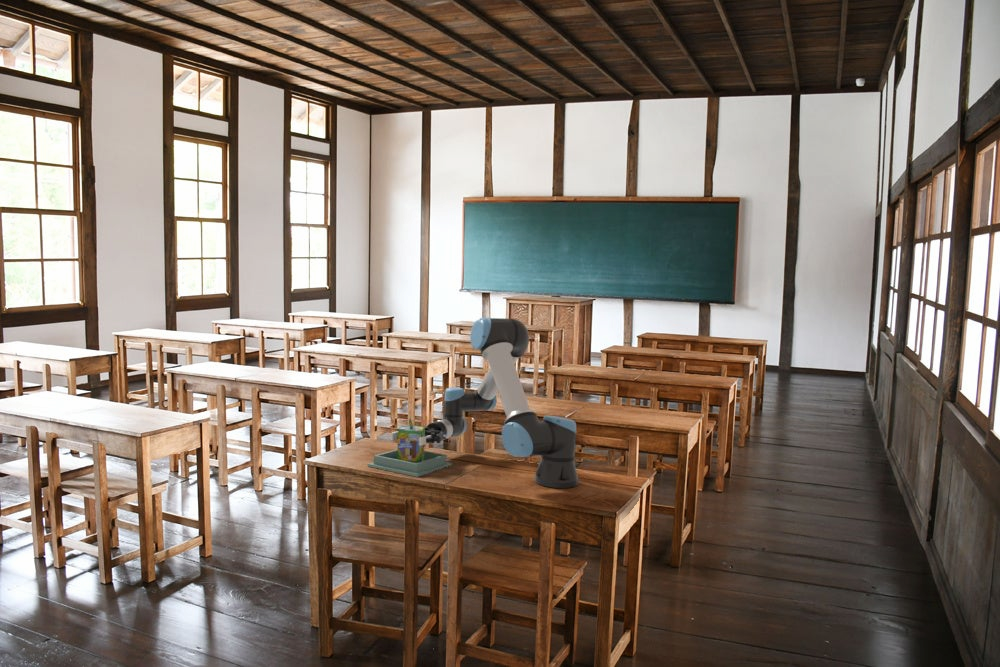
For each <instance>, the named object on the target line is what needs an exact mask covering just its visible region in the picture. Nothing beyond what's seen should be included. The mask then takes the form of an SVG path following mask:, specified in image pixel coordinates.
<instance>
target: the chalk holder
mask: <svg viewBox="0 0 1000 667" xmlns="http://www.w3.org/2000/svg"><path fill="white" fill-rule="evenodd" d="M397 451H398V448H397V449H394V450H390V451H389V450H388V451H387V452H383V453H382V452H381V453H378V454H375V455H373V462H369V463H367V466H369V467H368V468H372V467H373V468H372V469H377V468H378V469H377V470H381V469H382V471H386V470H387V471H388V472H391V473H396V474H397V473H398V474H401V475H405V476H411V477H416V478H419V477H421V476H425V475H427V474H431V473H434V472H436V471H435V470H437V471H439V470H438V469H440V470H442V469H441V468H443V469H445V468H444V467H446V468H448V466H449V467H451V465H452V466H453V463H452V462H450V461H449V462H448V461H447V460H448V459H447V457H448V455H447V454H445V453H444V454H443V453H438V452H431V451H428V450H427V451H426V450H424V458H423V460H422V462H410V461H402V460H397ZM387 471H386V472H387ZM433 471H434V472H433Z"/></svg>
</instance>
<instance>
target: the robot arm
mask: <svg viewBox="0 0 1000 667" xmlns="http://www.w3.org/2000/svg"><path fill="white" fill-rule="evenodd" d="M469 337H470V344H471V347H472V348H473V349H474V350H476V351H479V352H480V354H481V357H482V358H483V359H484V360H486V361H488V365H489V369H488V371H487V372H486V374H485V376H484V377H483V379H482V381H481V382H480V385H479V386H478V388H477V390H476V391H474V392H473V391H472V392H471V391H469V392H465V389H464V388H462V387H453V386H452V387H447V388H446V389H445V393H444V401H443V402H444V405H443V406H444V407H443V409H444V410H443V419H439V420H436V421H433V422H428V424H427V426H424V427H425V437H421V438H419V445H420V446H421V445H424V446H425V445H428V444H431V443H432V444H434V443H435V442H436V443H437V444H441V443H442V441H444V440H447V439H449V438H453V437H458V436H460V435H463V434H464V433H465V432H466V431H467V428H468V426H467V425H468V424H467V422H466V419H465V418H464V417H463V416H464V412H477V411H478V412H479V411H483V412H484V411H491V410H494V409H495V408H496V406H497V402H498V401H497V400H498V398H497V393H498V395H499V398H500V402H501V404H502V407H503V410H504V413H505V414H504V415H505V416H506V418H505V420H504V421H503V422H504V423H503V427H502V429H501V442H502V445H503V447H504V449H505V450H506V452H507V453H508V454H509V455H511V456H513V457H516V458H528V457H533V456H535V457H536V456H541V457H540V462H539V464H538V467H537V468H536V471H535V474H534V483H536V484H537V485H539V486H543V487H547V488H554V489H570V488H574V487H577V486H578V485H579V476H578V472H577V468H576V463H575V455H576V442H577V440H576V439H577V423H576V421H575V420H574V419H570V418H566V417H562V416H557V415H547V414H546V415H544V416H543V418H542V420H539V418H538V416H537V412H535V411H534V410H531V408H530V405H529V402H528V400H527V397H526V394H525V391H524V388H523V384H522V382H521V380H520V377H519V376H520V375H519V374H518V371H517V367H516V363H517V361H518V359H520V358H522V357H523V356H524V355H525V353H526V351H527V349H528V346H529V343H530V334H529V330H528V328H527V326H526V325H525V324H524V323H523V322H522V321H520V320H518V318H517V319H516V318H496V317H495V318H494V317H489V316H487V317H482V318H481V317H480V318H478V319H476V321H475V322H474V323H473V325H472V328H471V331H470V336H469ZM398 430H399V428H397V430H396V431H393V432H391V433H390V441H395V440H398Z"/></svg>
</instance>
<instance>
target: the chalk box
mask: <svg viewBox="0 0 1000 667" xmlns="http://www.w3.org/2000/svg"><path fill="white" fill-rule="evenodd" d="M408 423H409V426H408V425H407V426H406V425H401V426H400V427H399V428H398V429H399V430H398V439H397V449H398V451H397V460H402V461H410V462H422V460H423V458H424V451H425V445H421V446H420V445H419V438H421V437H425V427H426V426H415V425H414V426H413V421H412V418H409V420H408Z"/></svg>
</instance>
